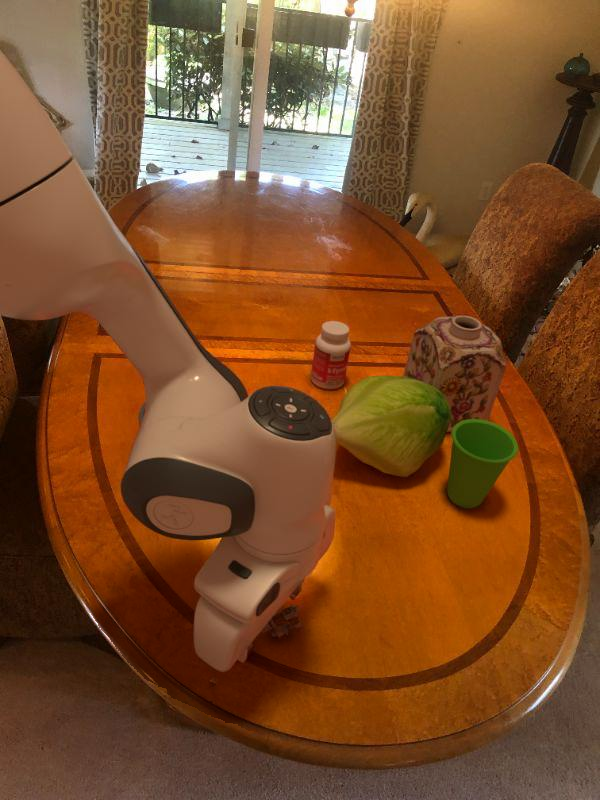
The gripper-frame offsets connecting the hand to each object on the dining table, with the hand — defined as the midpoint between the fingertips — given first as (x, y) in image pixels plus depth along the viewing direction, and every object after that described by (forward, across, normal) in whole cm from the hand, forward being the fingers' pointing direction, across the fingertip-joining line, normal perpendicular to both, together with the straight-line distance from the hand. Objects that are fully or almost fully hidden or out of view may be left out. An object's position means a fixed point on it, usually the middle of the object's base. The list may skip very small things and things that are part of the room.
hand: (267, 622), depth 68 cm
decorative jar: (+3, -53, -1) cm, 53 cm away
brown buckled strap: (+3, 0, 0) cm, 3 cm away
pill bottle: (+3, -48, -21) cm, 52 cm away
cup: (+3, -36, +10) cm, 37 cm away
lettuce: (+3, -36, -4) cm, 36 cm away
